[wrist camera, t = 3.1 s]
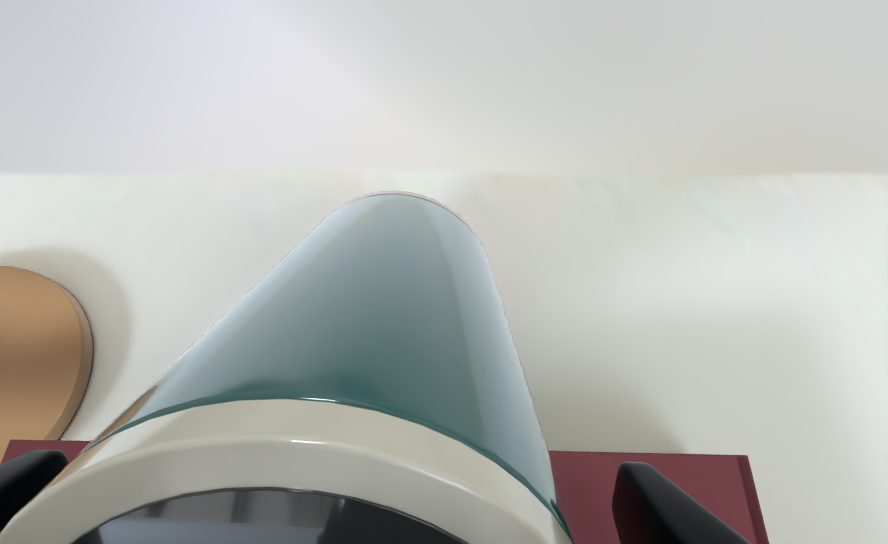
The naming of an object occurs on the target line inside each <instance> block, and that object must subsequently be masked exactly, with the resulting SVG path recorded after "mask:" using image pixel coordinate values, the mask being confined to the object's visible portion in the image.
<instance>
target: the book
mask: <svg viewBox="0 0 888 544" xmlns="http://www.w3.org/2000/svg"><path fill="white" fill-rule="evenodd" d="M90 442H91V441H61V440H14V439H11V440H10V441H9V444H8V446H7V449H6V451H5V454H4V456H3V459H2V461H1V464H2V463H4V462H6V461H9V460H11V459H13V458H15V457H17V456H20V455H22V454H24V453H26V452H28V451H31V450H37V449H47V450H60V451H62V452H63V453H64V454H65V455H66V456H67V459H68V462H70V461H72V460H73V459H74V458H75V457H76V456H77V455H78V454H79V453H80V452H81V451H82V450H83V449H84V448H85V447H86V446H87V445H88V444H89V443H90ZM548 453H549V457H550V460H551V463H552V466H553V469H554V473H555V476H556V479H557V482H558V486H559V489H560V492H561V495H562V498H563V502H564V505H565V508H566V511H567V515H568V518H569V521H570V524H571V527H572V531H573V534H574V537H575V540H576V543H577V544H620V540H619V537H618V533H617V529H616V525H615V522H614V518H613V513H612V497H613V492H614V487H615V482H616V477H617V472H618V468H619V466H620V464H621V463H623V462H645V463H648V464H649V465H651V466H652V467H654V468H655V469H656V470H657V471H659V472H660V473H661V474H662V475H664V476H665V477H666V478H668V479H669V480H670V481H671V482H673V483H674V484H675V485H677V486H678V487H679V488H680V489H682V490H683V491H684V492H686V493H687V494H688V495H689V496H691V497H692V498H693V499H695V500H696V501H697V502H698V503H700V504H701V505H702V506H704V507H705V508H706V509H707V510H709V511H710V512H711V513H713V514H714V515H715V516H716V517H718V518H719V519H720V520H721V521H723V522H724V523H725V524H727V525H728V526H729V527H730V528H732V529H733V530H734V531H736V532H737V533H738V534H739V535H741V536H742V537H743V538H745V539H746V540H747V541H748V542H750V543H751V544H769V541H768V537H767V533H766V529H765V525H764V521H763V517H762V513H761V509H760V505H759V500H758V496H757V492H756V488H755V484H754V480H753V476H752V472H751V468H750V464H749V460H748V456H747V455H707V454H661V453H615V452H569V451H548Z"/></svg>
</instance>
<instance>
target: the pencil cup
mask: <svg viewBox="0 0 888 544" xmlns="http://www.w3.org/2000/svg"><path fill="white" fill-rule="evenodd" d="M0 544H577V543H576V540H575V537H574V534H573V531H572V527H571V524H570V521H569V518H568V515H567V511H566V508H565V505H564V502H563V498H562V495H561V492H560V489H559V486H558V482H557V479H556V476H555V473H554V469H553V466H552V463H551V460H550V457H549V453H548V450H547V447H546V444H545V440H544V437H543V434H542V431H541V428H540V424H539V421H538V418H537V415H536V411H535V408H534V405H533V402H532V399H531V395H530V392H529V389H528V386H527V383H526V379H525V376H524V373H523V370H522V366H521V363H520V360H519V357H518V354H517V350H516V347H515V344H514V341H513V337H512V334H511V331H510V328H509V325H508V321H507V318H506V315H505V312H504V308H503V305H502V302H501V299H500V296H499V292H498V289H497V286H496V283H495V279H494V276H493V273H492V270H491V267H490V263H489V260H488V257H487V254H486V252H485V249H484V247H483V245H482V243H481V241H480V239H479V238H478V236H477V235H476V233H475V232H474V230H473V229H472V228H471V227H470V226H469V224H468V223H467V222H466V221H465V220H464V219H463V218H462V217H461V216H459V215H458V214H457V213H456V212H454V211H453V210H452V209H450V208H449V207H447V206H446V205H444V204H442V203H440V202H438V201H436V200H434V199H431V198H429V197H426V196H423V195H419V194H415V193H410V192H402V191H382V192H376V193H370V194H367V195H364V196H360V197H357V198H355V199H353V200H351V201H349V202H346V203H345V204H343V205H341V206H340V207H338V208H337V209H335V210H334V211H333V212H332V213H330V214H329V215H328V216H327V217H326V218H325V219H324V220H323V221H322V222H321V223H319V224H318V225H317V226H316V227H315V228H314V229H313V230H312V231H311V232H310V233H309V234H308V235H307V236H306V237H305V238H304V239H303V240H302V241H301V242H300V243H299V244H298V245H296V246H295V247H294V248H293V249H292V250H291V251H290V252H289V253H288V254H287V255H286V256H285V257H284V258H283V259H282V260H281V261H280V262H279V263H278V264H277V265H276V266H274V267H273V268H272V269H271V270H270V271H269V272H268V273H267V274H266V275H265V276H264V277H263V278H262V279H261V280H260V281H259V282H258V283H257V284H256V285H255V286H254V287H253V288H251V289H250V290H249V291H248V292H247V293H246V294H245V295H244V296H243V297H242V298H241V299H240V300H239V301H238V302H237V303H236V304H235V305H234V306H233V307H232V308H231V309H230V310H228V311H227V312H226V313H225V314H224V315H223V316H222V317H221V318H220V319H219V320H218V321H217V322H216V323H215V324H214V325H213V326H212V327H211V328H210V329H209V330H208V331H206V332H205V333H204V334H203V335H202V336H201V337H200V338H199V339H198V340H197V341H196V342H195V343H194V344H193V345H192V346H191V347H190V348H189V349H188V350H187V351H186V352H185V353H183V354H182V355H181V356H180V357H179V358H178V359H177V360H176V361H175V362H174V363H173V364H172V365H171V366H170V367H169V368H168V369H167V370H166V371H165V372H164V373H163V374H162V375H160V376H159V377H158V378H157V379H156V380H155V381H154V382H153V383H152V384H151V385H150V386H149V387H148V388H147V389H146V390H145V391H144V392H143V393H142V394H141V395H140V396H138V397H137V398H136V399H135V400H134V401H133V402H132V403H131V404H130V405H129V406H128V407H127V408H126V409H125V410H124V411H123V412H122V413H121V414H120V415H119V416H118V417H117V418H115V419H114V420H113V421H112V422H111V423H110V424H109V425H108V426H107V427H106V428H105V429H104V430H103V431H102V432H101V433H100V434H99V435H98V436H97V437H96V438H95V439H94V440H92V441H91V442H90V443H89V444H88V445H87V446H86V447H85V448H84V449H83V450H82V451H81V452H80V453H79V454H78V455H77V456H76V457H75V458H74V459H73V460H72V461H70V462H69V463H68V464H67V465H66V466H65V468H64V469H63V470H62V471H61V472H60V473H59V474H57V475H56V476H55V477H54V478H53V479H52V480H51V481H50V482H49V483H47V484H46V485H45V486H44V487H43V488H42V489H41V490H40V491H39V492H38V493H37V494H36V495H35V496H34V497H33V498H32V499H31V500H30V501H29V502H28V503H27V504H26V505H24V506H23V507H22V508H21V509H20V510H19V511H18V512H17V513H16V514H15V515H14V516H13V517H12V518H11V520H10V521H9V522H8V523H7V524H6V526H5V527H4V528H3V529H2V531H1V532H0Z"/></svg>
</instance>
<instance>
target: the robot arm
mask: <svg viewBox="0 0 888 544" xmlns="http://www.w3.org/2000/svg"><path fill="white" fill-rule="evenodd" d="M68 463H69V462H68V459H67V456H66V455H65V454H64V453H63V452H62V451H60V450H47V449H37V450H31V451H28V452H26V453H24V454H22V455H20V456H17V457H15V458H13V459H11V460H9V461H6V462H4V463H2V464H0V532H1V531H2V529H3V528H4V527H5V526H6V524H7V523H8V522H9V521H10V520H11V518H12V517H13V516H14V515H15V514H16V513H17V512H18V511H19V510H20V509H21V508H22V507H23V506H24V505H26V504H27V503H28V502H29V501H30V500H31V499H32V498H33V497H34V496H35V495H36V494H37V493H38V492H39V491H40V490H41V489H42V488H43V487H44V486H45V485H46V484H47V483H49V482H50V481H51V480H52V479H53V478H54V477H55V476H56V475H57V474H59V473H60V472H61V471H62V470H63V469H64V468H65V466H66V465H67V464H68ZM612 513H613V518H614V522H615V525H616V529H617V533H618V537H619V540H620V544H751V543H750V542H748V541H747V540H746V539H745V538H743V537H742V536H741V535H739V534H738V533H737V532H736V531H734V530H733V529H732V528H730V527H729V526H728V525H727V524H725V523H724V522H723V521H721V520H720V519H719V518H718V517H716V516H715V515H714V514H713V513H711V512H710V511H709V510H707V509H706V508H705V507H704V506H702V505H701V504H700V503H698V502H697V501H696V500H695V499H693V498H692V497H691V496H689V495H688V494H687V493H686V492H684V491H683V490H682V489H680V488H679V487H678V486H677V485H675V484H674V483H673V482H671V481H670V480H669V479H668V478H666V477H665V476H664V475H662V474H661V473H660V472H659V471H657V470H656V469H655V468H654V467H652V466H651V465H649V464H648V463H645V462H623V463H621V464H620V466H619V468H618V472H617V477H616V482H615V487H614V492H613V497H612Z"/></svg>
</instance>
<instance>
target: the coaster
mask: <svg viewBox="0 0 888 544" xmlns="http://www.w3.org/2000/svg"><path fill="white" fill-rule="evenodd" d="M92 356H93V344H92V335H91V330H90V325H89V322H88V320H87V318H86V315H85V313H84V311H83V309H82V308H81V306H80V305H79V303H78V301H77V300H76V299H75V298H74V297H73V296H72V295H71V294H70V293H69V292H68V291H67V290H65V289H64V288H63V287H61V286H60V285H59V284H57V283H55V282H53V281H52V280H50V279H48V278H46V277H44V276H42V275H40V274H38V273H35V272H32V271H29V270H26V269H21V268H15V267H6V266H0V464H1V461H2V459H3V456H4V454H5V451H6V449H7V446H8V444H9V441H10V440H11V439H14V440H58V439H59V437H60V436H61V435H62V434H63V432H64V430H65V429H66V427H67V426H68V424H69V423H70V421H71V419H72V418H73V416H74V414H75V412H76V410H77V408H78V406H79V404H80V402H81V400H82V397H83V395H84V392H85V389H86V387H87V384H88V380H89V376H90V371H91V367H92Z"/></svg>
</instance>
